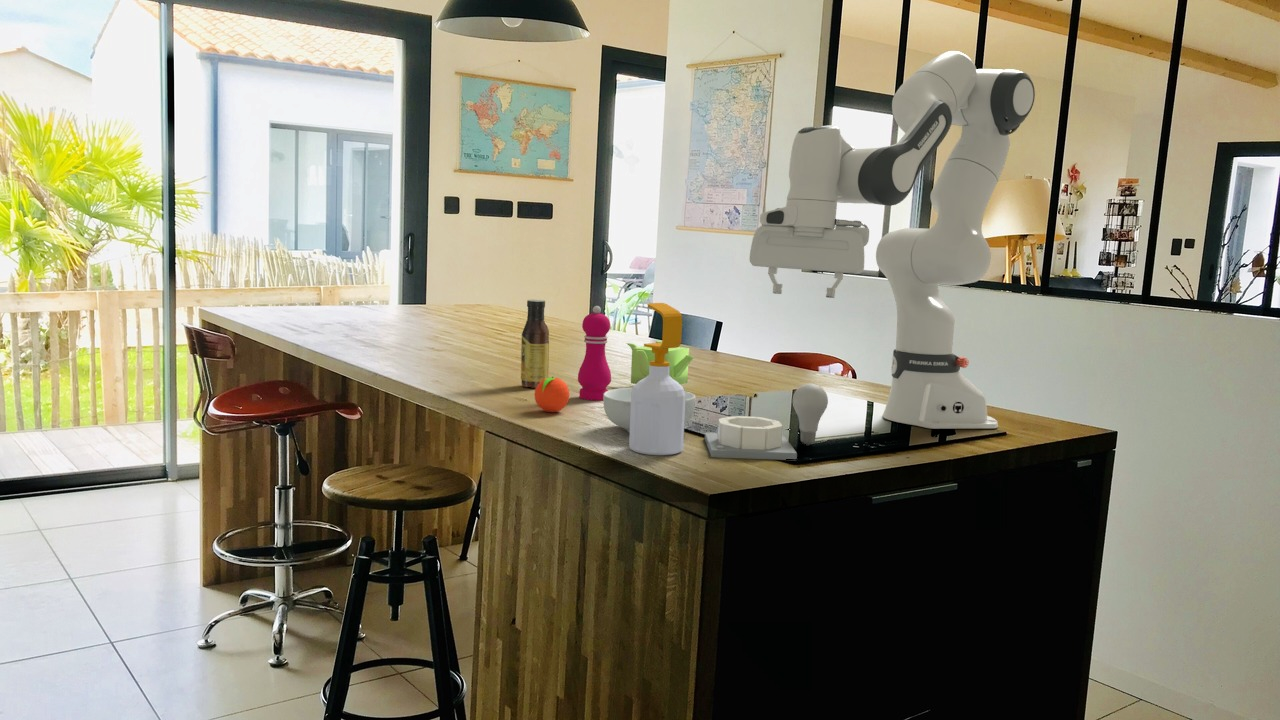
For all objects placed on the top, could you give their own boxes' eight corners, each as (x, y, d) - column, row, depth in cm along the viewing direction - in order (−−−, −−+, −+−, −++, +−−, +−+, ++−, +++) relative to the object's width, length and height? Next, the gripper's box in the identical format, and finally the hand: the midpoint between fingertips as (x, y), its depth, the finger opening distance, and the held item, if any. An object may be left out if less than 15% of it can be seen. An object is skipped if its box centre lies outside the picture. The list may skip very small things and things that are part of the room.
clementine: (558, 417, 188) (559, 381, 188) (525, 414, 191) (526, 378, 190) (574, 410, 196) (575, 375, 195) (542, 407, 198) (543, 372, 197)
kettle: (635, 394, 219) (637, 344, 217) (620, 384, 232) (621, 337, 231) (698, 393, 222) (701, 344, 221) (680, 384, 236) (682, 337, 235)
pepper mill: (617, 398, 212) (620, 306, 210) (598, 402, 206) (601, 307, 204) (589, 394, 216) (592, 303, 214) (570, 398, 210) (573, 305, 208)
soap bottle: (656, 441, 170) (662, 301, 167) (693, 451, 164) (700, 305, 160) (617, 448, 164) (623, 302, 161) (655, 458, 158) (662, 306, 154)
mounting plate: (782, 441, 174) (783, 433, 174) (796, 460, 160) (797, 451, 160) (704, 439, 174) (705, 430, 174) (711, 457, 160) (711, 448, 160)
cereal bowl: (648, 419, 191) (650, 383, 190) (712, 434, 179) (714, 396, 178) (583, 429, 179) (584, 390, 178) (647, 445, 167) (648, 405, 166)
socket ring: (775, 437, 172) (776, 417, 172) (784, 450, 162) (785, 429, 162) (715, 434, 172) (716, 415, 172) (721, 448, 162) (722, 427, 161)
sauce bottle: (524, 383, 227) (526, 298, 224) (550, 385, 226) (553, 299, 223) (517, 388, 220) (519, 300, 218) (544, 389, 219) (546, 301, 217)
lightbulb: (827, 443, 174) (831, 382, 173) (822, 450, 169) (826, 387, 167) (793, 440, 176) (796, 379, 175) (786, 446, 171) (790, 384, 169)
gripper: (870, 222, 174) (863, 299, 175) (756, 215, 179) (749, 290, 180) (870, 220, 168) (862, 301, 169) (751, 213, 172) (745, 291, 174)
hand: (803, 295), depth 175 cm, fingers open, 8 cm apart
